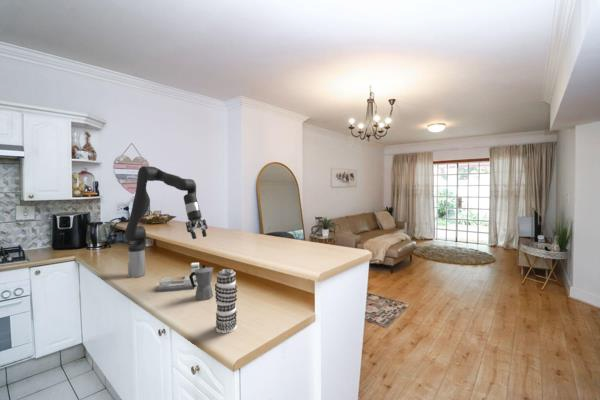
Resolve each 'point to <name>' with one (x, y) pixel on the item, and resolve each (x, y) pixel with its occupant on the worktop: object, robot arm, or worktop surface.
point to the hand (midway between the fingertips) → (199, 237)
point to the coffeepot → (203, 282)
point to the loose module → (194, 267)
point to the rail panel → (175, 284)
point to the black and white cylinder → (226, 301)
